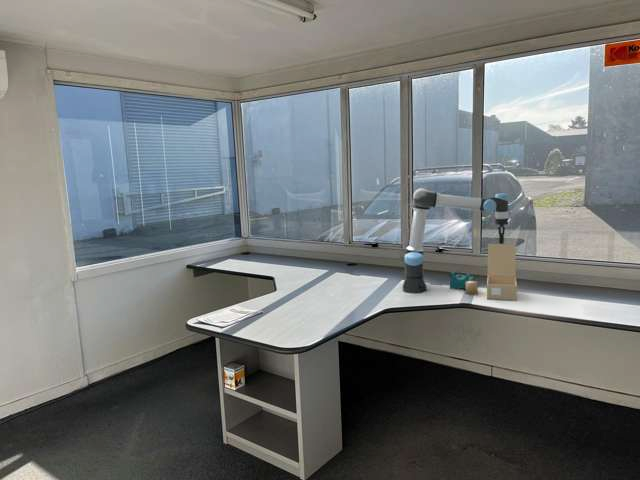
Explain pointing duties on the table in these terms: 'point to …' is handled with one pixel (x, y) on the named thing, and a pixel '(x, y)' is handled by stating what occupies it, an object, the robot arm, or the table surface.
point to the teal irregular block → (459, 280)
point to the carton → (501, 288)
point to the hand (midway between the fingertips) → (501, 254)
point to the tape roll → (471, 287)
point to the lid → (501, 259)
